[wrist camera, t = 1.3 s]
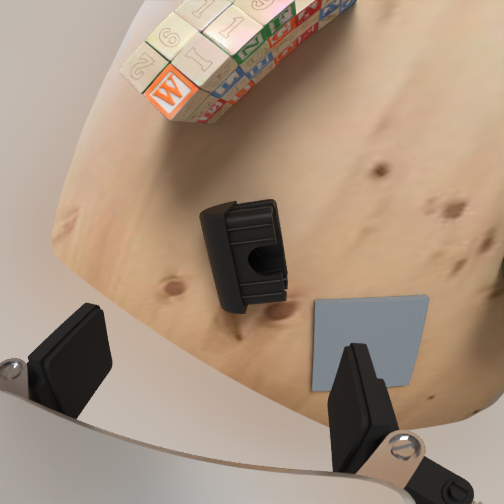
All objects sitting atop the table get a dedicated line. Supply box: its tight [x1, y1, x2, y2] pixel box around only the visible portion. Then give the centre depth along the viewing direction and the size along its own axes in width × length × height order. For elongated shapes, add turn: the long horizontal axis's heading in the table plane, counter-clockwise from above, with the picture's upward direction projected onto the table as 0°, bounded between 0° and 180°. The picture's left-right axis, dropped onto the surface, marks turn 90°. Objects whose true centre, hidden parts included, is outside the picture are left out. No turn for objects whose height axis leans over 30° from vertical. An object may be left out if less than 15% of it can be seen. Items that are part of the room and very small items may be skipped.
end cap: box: [199, 199, 288, 314], centre depth 32 cm, size 10×7×7 cm
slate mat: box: [312, 295, 429, 391], centre depth 37 cm, size 14×14×1 cm
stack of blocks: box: [118, 0, 357, 124], centre depth 22 cm, size 21×6×12 cm, turn 134°
